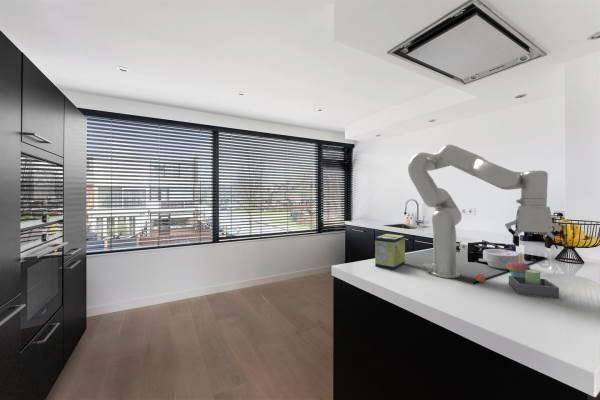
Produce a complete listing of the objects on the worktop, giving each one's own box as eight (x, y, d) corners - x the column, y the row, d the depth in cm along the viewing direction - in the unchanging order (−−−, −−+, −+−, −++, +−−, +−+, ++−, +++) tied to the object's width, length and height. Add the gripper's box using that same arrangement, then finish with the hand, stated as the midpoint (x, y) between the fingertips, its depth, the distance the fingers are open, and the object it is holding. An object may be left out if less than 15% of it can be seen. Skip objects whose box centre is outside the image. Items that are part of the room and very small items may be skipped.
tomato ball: (476, 283, 114) (476, 275, 113) (474, 280, 117) (474, 272, 117) (486, 284, 112) (486, 276, 112) (484, 281, 115) (484, 273, 115)
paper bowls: (475, 263, 143) (475, 249, 143) (501, 262, 145) (501, 248, 145) (500, 272, 128) (500, 255, 128) (528, 270, 130) (528, 254, 129)
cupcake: (535, 281, 115) (535, 253, 114) (512, 280, 117) (513, 253, 116) (522, 275, 123) (523, 249, 123) (502, 274, 125) (502, 248, 125)
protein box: (405, 263, 145) (405, 235, 145) (394, 270, 134) (394, 239, 133) (386, 260, 152) (386, 233, 152) (374, 266, 141) (374, 237, 140)
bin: (518, 294, 101) (518, 283, 101) (508, 284, 111) (508, 275, 111) (558, 298, 97) (559, 287, 96) (545, 288, 106) (545, 278, 106)
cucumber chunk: (527, 290, 102) (528, 272, 102) (523, 286, 107) (523, 269, 106) (542, 292, 101) (542, 273, 100) (537, 288, 105) (537, 270, 105)
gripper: (509, 202, 102) (507, 246, 103) (568, 203, 96) (566, 250, 97) (503, 201, 109) (501, 243, 110) (557, 202, 103) (555, 246, 103)
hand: (531, 246), depth 103 cm, fingers open, 9 cm apart
